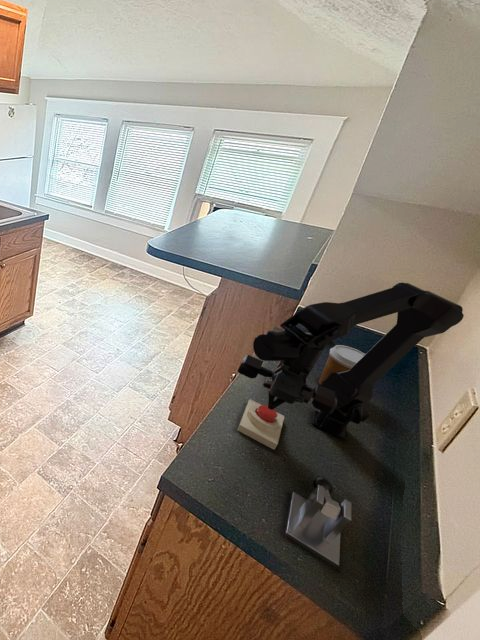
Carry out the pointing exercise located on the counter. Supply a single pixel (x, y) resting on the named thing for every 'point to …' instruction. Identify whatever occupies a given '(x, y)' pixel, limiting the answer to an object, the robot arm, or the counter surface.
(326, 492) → the switch lever
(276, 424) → the stop block
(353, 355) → the disposable coffee cup
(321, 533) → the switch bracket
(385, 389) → the counter surface
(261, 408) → the stop button
